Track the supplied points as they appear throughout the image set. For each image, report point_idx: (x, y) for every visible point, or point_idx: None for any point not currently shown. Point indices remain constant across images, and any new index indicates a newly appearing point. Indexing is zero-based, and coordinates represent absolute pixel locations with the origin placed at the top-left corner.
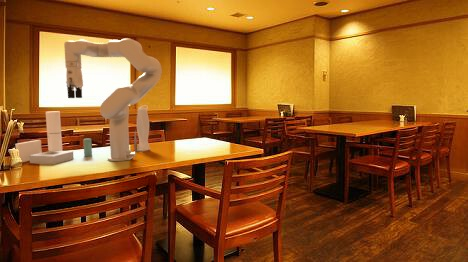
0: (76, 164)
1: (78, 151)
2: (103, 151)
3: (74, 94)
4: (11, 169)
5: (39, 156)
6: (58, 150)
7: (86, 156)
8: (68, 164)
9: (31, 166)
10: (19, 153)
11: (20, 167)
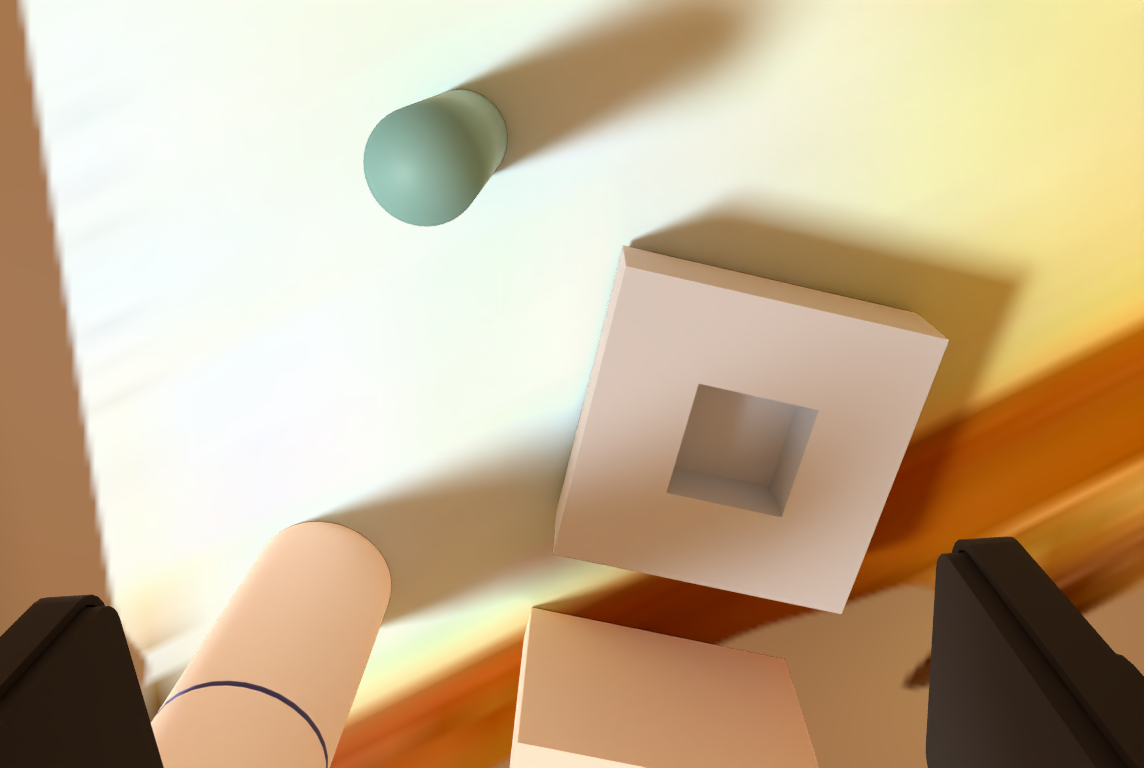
0: (931, 61)
1: (125, 423)
2: (81, 92)
3: (1065, 628)
4: None
5: (883, 500)
6: (346, 560)
7: (506, 140)
8: (914, 160)
9: (949, 488)
10: (804, 725)
11: None
